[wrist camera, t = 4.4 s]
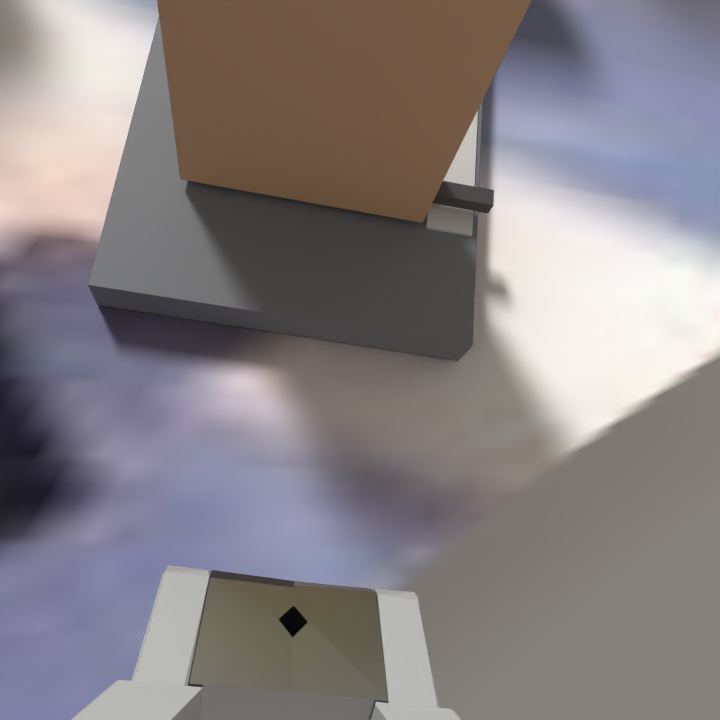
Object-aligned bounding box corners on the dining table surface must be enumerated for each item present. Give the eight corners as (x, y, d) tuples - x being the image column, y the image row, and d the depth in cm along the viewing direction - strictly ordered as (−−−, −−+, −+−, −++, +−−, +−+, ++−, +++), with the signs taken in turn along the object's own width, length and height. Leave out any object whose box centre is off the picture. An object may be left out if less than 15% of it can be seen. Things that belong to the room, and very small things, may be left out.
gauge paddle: (485, 234, 23) (652, -14, 14) (180, 179, 22) (139, -134, 13) (487, 184, 24) (647, -83, 15) (191, 128, 23) (161, -204, 13)
